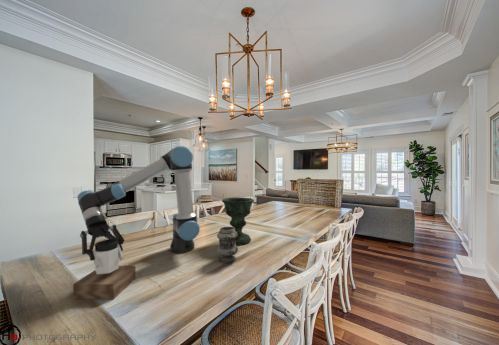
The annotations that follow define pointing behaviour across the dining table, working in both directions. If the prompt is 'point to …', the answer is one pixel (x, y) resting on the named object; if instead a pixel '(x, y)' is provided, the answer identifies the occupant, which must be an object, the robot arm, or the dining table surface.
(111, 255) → the jar
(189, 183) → the robot arm
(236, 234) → the apothecary jar
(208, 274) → the dining table surface
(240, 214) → the goblet
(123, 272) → the walnut block
